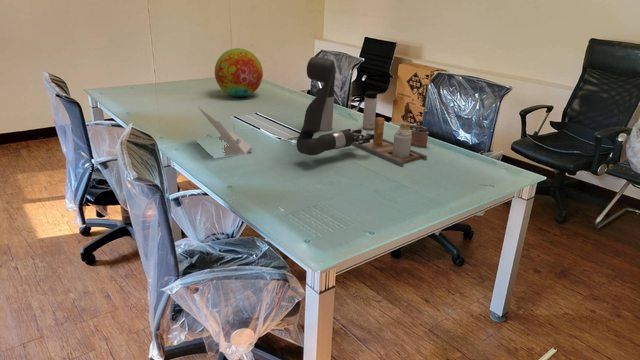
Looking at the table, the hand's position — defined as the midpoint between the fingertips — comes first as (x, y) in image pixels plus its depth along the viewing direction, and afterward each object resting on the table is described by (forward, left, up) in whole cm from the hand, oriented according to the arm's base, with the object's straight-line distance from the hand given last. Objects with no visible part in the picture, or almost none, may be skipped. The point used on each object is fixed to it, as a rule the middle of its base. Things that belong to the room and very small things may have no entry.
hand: (367, 133), depth 206 cm
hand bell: (+26, +26, -8) cm, 38 cm away
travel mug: (+9, +34, -8) cm, 36 cm away
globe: (-61, +103, -8) cm, 120 cm away
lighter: (+27, +6, -8) cm, 28 cm away
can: (+14, -10, -8) cm, 19 cm away
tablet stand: (-64, +5, -8) cm, 65 cm away
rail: (+8, 0, -8) cm, 11 cm away
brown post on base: (+11, -4, -8) cm, 14 cm away
